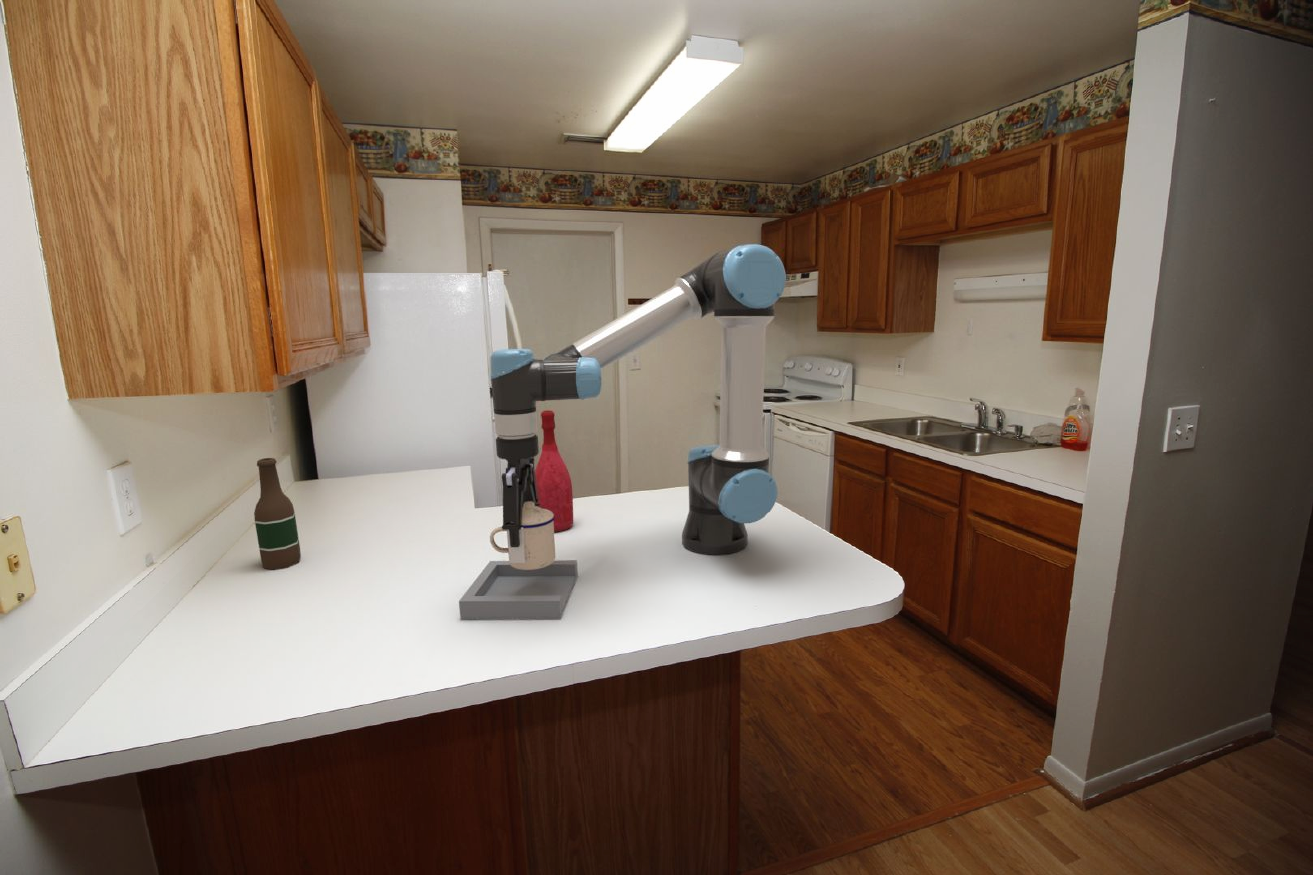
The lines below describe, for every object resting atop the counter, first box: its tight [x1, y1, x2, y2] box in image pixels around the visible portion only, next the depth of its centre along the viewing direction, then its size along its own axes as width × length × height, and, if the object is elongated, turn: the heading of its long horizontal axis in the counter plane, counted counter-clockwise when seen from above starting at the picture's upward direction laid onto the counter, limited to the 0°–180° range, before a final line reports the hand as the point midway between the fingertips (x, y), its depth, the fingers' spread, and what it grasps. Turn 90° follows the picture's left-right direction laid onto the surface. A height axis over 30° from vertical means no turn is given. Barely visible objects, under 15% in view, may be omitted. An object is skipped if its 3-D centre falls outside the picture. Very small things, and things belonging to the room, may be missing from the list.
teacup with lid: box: [489, 501, 556, 570], centre depth 114 cm, size 12×9×12 cm
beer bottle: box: [253, 457, 302, 571], centre depth 134 cm, size 8×8×24 cm
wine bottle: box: [535, 409, 574, 533], centre depth 153 cm, size 10×10×30 cm
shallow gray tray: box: [458, 559, 579, 620], centre depth 117 cm, size 18×18×4 cm
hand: (524, 551), depth 115 cm, fingers closed on teacup with lid, 9 cm apart
